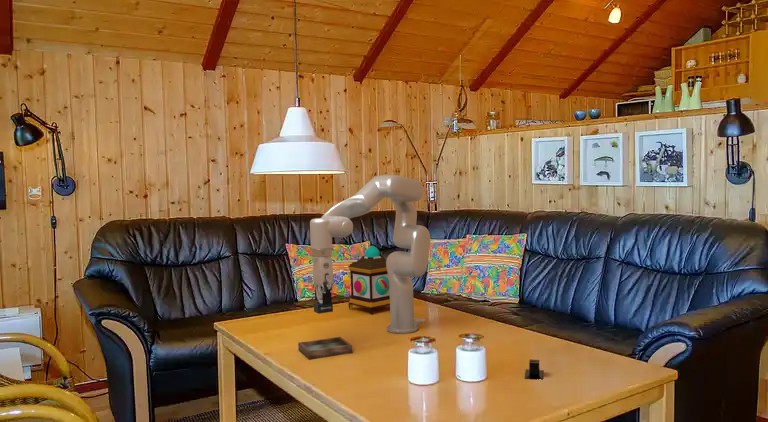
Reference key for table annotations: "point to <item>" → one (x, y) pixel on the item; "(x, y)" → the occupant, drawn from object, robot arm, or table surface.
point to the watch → (321, 302)
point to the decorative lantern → (369, 281)
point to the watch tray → (325, 348)
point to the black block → (534, 371)
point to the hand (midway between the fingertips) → (323, 301)
